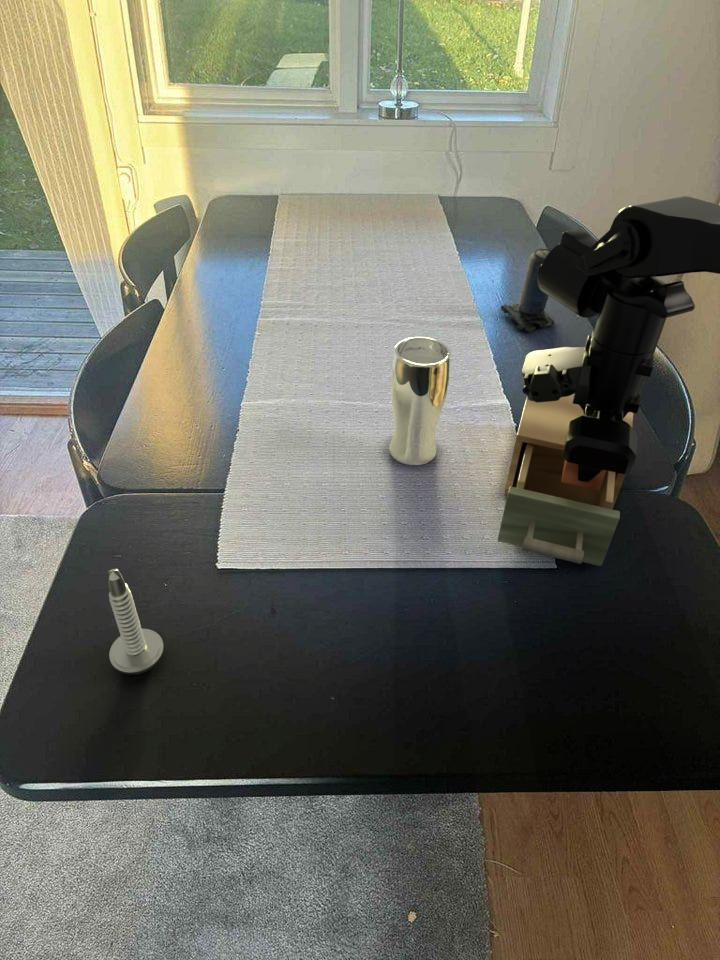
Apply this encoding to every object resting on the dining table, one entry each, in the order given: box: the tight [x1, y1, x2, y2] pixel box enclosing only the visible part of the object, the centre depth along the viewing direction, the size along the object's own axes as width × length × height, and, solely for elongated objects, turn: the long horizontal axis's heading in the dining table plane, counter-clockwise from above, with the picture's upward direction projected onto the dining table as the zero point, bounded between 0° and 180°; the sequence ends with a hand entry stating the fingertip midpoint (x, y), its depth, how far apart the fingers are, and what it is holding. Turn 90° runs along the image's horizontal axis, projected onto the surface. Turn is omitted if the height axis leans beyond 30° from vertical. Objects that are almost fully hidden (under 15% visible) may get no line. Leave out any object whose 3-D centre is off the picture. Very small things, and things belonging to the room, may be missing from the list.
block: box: [561, 460, 606, 490], centre depth 74 cm, size 4×4×4 cm
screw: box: [107, 568, 165, 676], centre depth 62 cm, size 13×5×5 cm
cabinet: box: [503, 395, 634, 510], centre depth 87 cm, size 15×13×9 cm
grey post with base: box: [500, 248, 555, 333], centre depth 116 cm, size 9×8×12 cm
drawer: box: [497, 443, 621, 567], centre depth 78 cm, size 18×11×7 cm, turn 162°
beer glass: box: [389, 336, 452, 466], centre depth 87 cm, size 7×7×15 cm
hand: (584, 468), depth 75 cm, fingers closed on block, 4 cm apart
